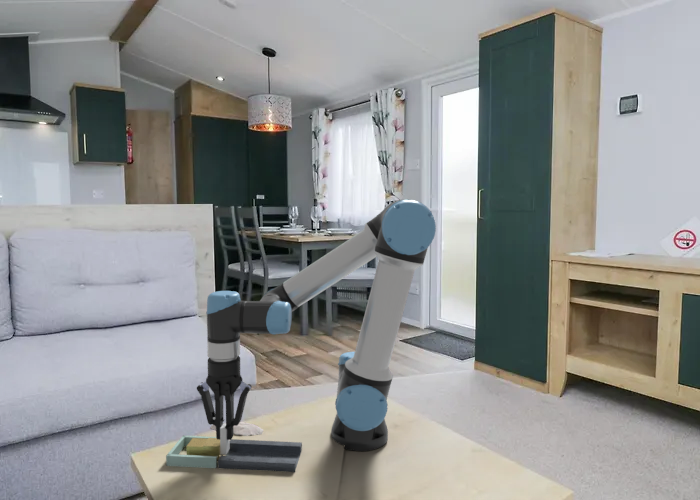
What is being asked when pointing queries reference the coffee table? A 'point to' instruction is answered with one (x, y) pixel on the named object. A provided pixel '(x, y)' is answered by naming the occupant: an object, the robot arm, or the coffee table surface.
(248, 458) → the slot board
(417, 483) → the coffee table surface
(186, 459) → the tray
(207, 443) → the chip
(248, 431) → the stone tool
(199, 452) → the chip
